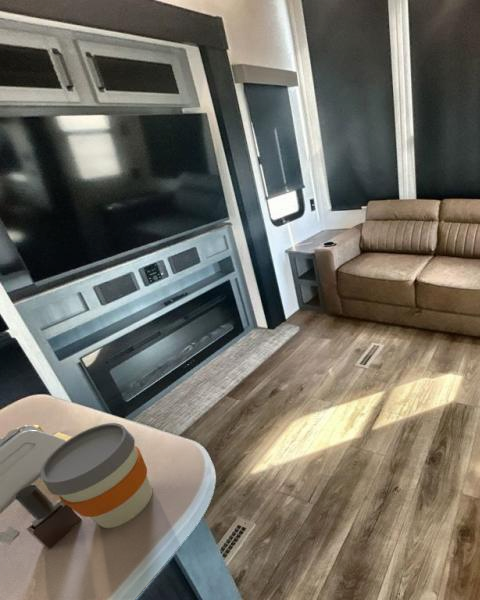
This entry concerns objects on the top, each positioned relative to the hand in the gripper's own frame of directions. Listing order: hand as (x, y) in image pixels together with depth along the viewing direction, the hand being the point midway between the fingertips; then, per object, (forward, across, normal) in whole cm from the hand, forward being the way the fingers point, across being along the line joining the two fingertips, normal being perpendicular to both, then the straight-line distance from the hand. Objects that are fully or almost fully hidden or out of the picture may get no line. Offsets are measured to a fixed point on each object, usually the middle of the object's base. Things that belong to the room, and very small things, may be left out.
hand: (43, 509), depth 62 cm
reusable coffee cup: (+10, -6, 0) cm, 12 cm away
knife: (+5, 0, -5) cm, 7 cm away
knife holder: (+4, 0, -5) cm, 7 cm away
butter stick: (-8, -17, -17) cm, 25 cm away
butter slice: (-16, -20, -26) cm, 36 cm away
